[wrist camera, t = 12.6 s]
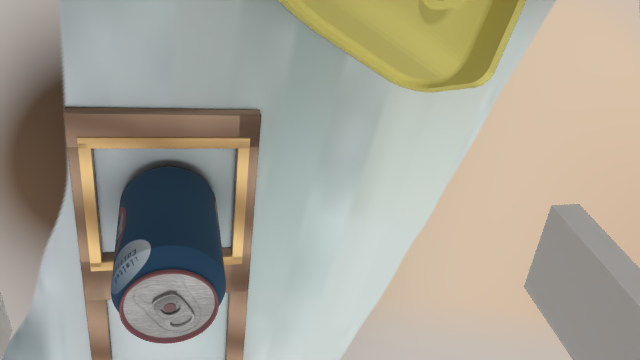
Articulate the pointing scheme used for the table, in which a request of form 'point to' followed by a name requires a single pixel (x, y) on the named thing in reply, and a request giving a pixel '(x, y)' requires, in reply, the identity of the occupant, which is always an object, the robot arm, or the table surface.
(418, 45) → the plastic component
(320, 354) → the table surface
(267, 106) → the table surface
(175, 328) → the soda can
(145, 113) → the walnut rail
